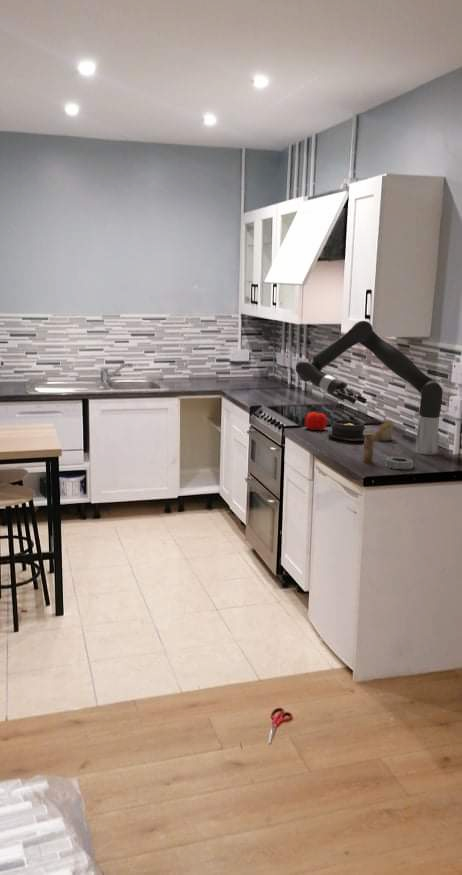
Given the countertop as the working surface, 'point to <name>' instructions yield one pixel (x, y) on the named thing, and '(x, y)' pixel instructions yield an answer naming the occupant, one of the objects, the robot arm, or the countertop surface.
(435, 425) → the robot arm
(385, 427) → the rock
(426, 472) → the countertop surface
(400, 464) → the collar
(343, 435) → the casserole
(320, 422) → the tomato
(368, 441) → the dowel
